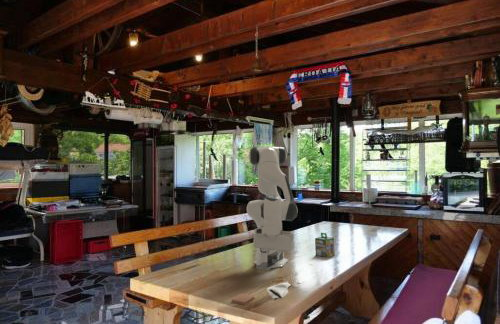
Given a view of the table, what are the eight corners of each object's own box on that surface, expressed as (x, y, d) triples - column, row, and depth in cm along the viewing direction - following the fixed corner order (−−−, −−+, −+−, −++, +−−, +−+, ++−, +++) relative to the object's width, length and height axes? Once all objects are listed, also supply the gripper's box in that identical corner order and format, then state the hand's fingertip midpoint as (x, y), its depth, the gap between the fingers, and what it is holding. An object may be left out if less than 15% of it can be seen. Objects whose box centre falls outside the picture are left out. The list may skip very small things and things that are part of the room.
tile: (241, 293, 162) (231, 299, 155) (254, 296, 158) (244, 302, 151) (241, 297, 162) (231, 303, 155) (254, 299, 158) (244, 306, 151)
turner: (275, 257, 177) (275, 249, 177) (286, 259, 174) (286, 251, 174) (256, 268, 160) (255, 259, 160) (267, 269, 157) (267, 260, 157)
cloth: (278, 281, 183) (278, 277, 183) (303, 285, 176) (303, 281, 176) (253, 298, 161) (253, 293, 161) (280, 303, 154) (280, 298, 154)
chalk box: (335, 255, 232) (334, 232, 232) (326, 257, 226) (325, 234, 226) (323, 252, 239) (323, 230, 239) (315, 255, 233) (314, 232, 233)
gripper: (295, 230, 166) (296, 259, 166) (257, 227, 177) (258, 255, 176) (290, 232, 161) (290, 263, 161) (251, 229, 171) (252, 258, 171)
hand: (273, 258), depth 169 cm, fingers closed on turner, 2 cm apart
